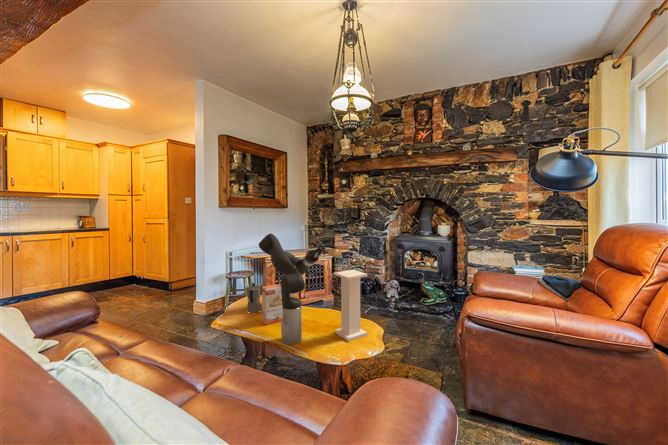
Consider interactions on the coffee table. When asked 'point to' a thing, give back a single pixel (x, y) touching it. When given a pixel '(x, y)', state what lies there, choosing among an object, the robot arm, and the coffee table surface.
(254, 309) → the coffeepot
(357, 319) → the white pillar
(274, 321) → the cracker box
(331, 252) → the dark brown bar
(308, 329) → the coffee table surface
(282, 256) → the robot arm
